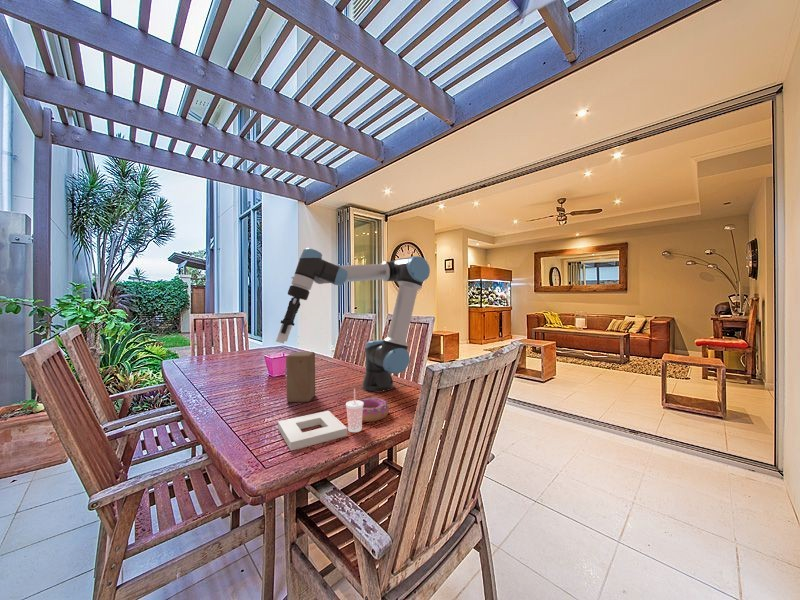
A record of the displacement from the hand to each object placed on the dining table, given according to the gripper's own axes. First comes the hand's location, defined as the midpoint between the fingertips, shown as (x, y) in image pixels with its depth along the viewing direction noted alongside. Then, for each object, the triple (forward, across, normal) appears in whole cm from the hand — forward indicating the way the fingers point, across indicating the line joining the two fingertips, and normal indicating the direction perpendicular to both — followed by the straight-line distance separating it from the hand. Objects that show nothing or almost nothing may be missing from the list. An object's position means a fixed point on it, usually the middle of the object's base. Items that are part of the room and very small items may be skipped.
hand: (281, 341), depth 117 cm
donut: (+18, +5, +40) cm, 44 cm away
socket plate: (+25, +13, +20) cm, 34 cm away
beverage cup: (+21, +15, +33) cm, 42 cm away
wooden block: (+23, -22, +14) cm, 35 cm away
